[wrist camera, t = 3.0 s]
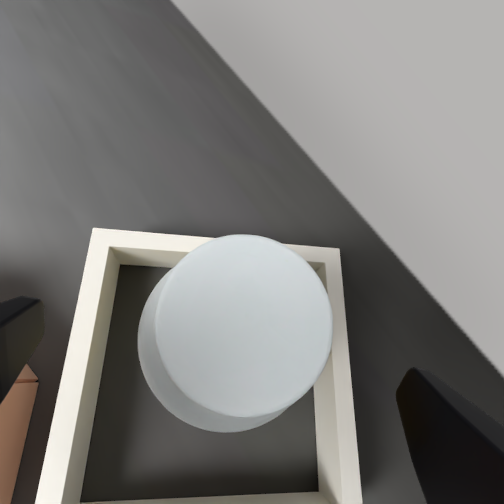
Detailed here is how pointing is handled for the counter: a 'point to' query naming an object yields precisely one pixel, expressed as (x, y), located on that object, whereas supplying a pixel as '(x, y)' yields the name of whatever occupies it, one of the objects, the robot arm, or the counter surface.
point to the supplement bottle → (235, 333)
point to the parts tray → (92, 357)
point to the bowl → (15, 429)
